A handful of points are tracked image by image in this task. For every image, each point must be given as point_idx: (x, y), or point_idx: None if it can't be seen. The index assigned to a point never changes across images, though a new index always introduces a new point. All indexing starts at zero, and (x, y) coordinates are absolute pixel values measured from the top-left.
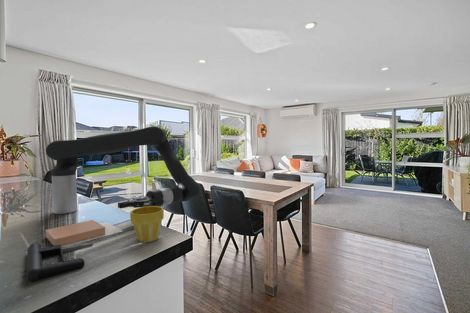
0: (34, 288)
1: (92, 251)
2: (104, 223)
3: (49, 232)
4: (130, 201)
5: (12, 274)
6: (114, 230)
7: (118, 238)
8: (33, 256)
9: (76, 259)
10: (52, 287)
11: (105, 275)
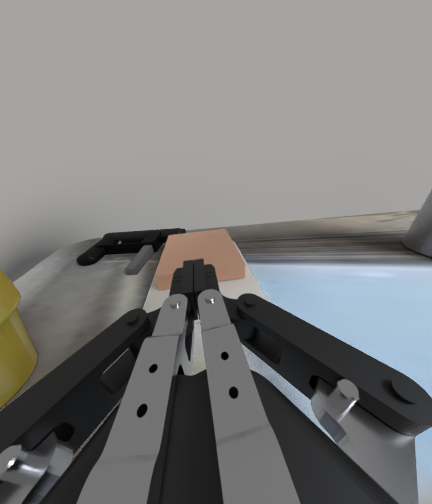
0: None
1: (112, 274)
2: None
3: (208, 231)
4: (167, 299)
5: None
6: None
7: (113, 313)
8: (138, 231)
9: (85, 253)
10: (77, 251)
11: (21, 278)
